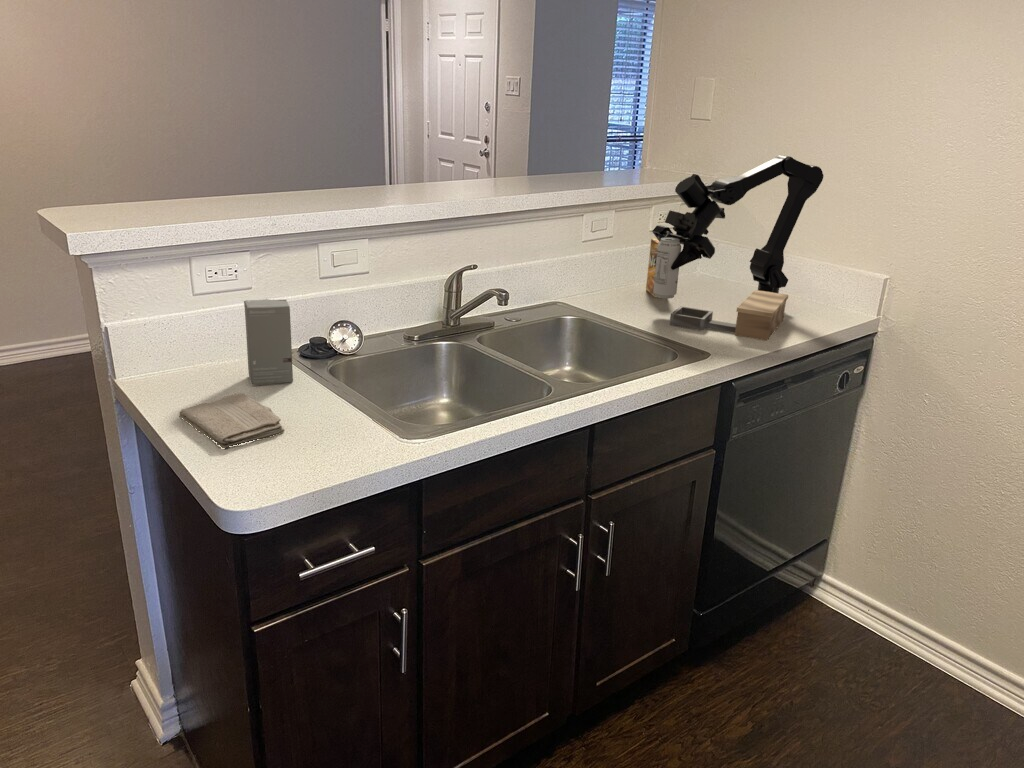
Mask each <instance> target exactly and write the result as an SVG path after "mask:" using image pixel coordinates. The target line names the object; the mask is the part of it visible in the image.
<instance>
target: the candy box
mask: <svg viewBox="0 0 1024 768" xmlns="http://www.w3.org/2000/svg"><path fill="white" fill-rule="evenodd" d="M658 244H659V240H658V239H657V238H651V239H650V247H649V255H648V256H649V258H648V266H647V272H646V274H647V275H646V283H645V290H646V291H647V292H648V293H649V294H651V296H653V297H654V298H655V299H657V298H658V297H656V296H655V293H654V292H653V289H654V278H655V268H656V264H655V263H654V262H655V259H656V256H657V247H658Z"/></svg>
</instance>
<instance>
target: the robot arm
mask: <svg viewBox="0 0 1024 768" xmlns="http://www.w3.org/2000/svg"><path fill="white" fill-rule="evenodd" d="M781 175H784V176H785V177H788V180H787V196H786V199H785V201H784V203H783V206H782V207H781V211H780V213H779V214H778V217H777V219H776V221H775V224H774V226H773V228H772V231H771V233H770V235H769V237H768V239H767V242H766V243H765V245H764V246H762V248H761V249H760V248H758V247H757V248H755V250H754V251H753V255H752V257H751V259H750V260H749V262H750V265H749V270H750V273H751V275H752V279H753V281H754V282H757V285H758V286H757V290H759V291H766V292H773V293H779V294H780V289H782V288H786V286H787V285H788V282H789V278H787V276H786V275H785V273H784V272H783V271H782V270H783V267H784V264H785V257H784V250H785V248H786V246H787V244H788V242H789V239H790V237H791V235H792V232H793V230H794V228H795V226H796V224H797V222H798V219H799V217H800V215H801V212H802V210H803V208H804V206H805V203H806V201H807V200H809V199H810V198H811V196H813V195H814V194H815V193H816V192H817V190H818V189H819V187H820V186H821V184H822V182H823V180H824V176H825V175H824V173H823V170H822V168H821V167H820V166H817V165H813V164H807V163H804V162H802V161H799V160H797V159H795V158H793V157H792V156H788V155H783V154H779V155H777V156H775V157H774V158H772V159H771V160H768V161H766V162H763V164H760V165H758V166H756V167H754V168H752V169H750V170H748V171H745V172H744V173H742V174H740V175H739V174H738V175H735V176H727V177H723V178H719V179H717V180H715V181H714V182H712V183H711V184H708V185H706V184H705V183H704V182H703V180H702V178H701V177H700V175H698V174H697V173H692V174H691V176H689V177H688V176H687V177H686V178H684V179H683V180H681V181H680V182H678V184H677V185H676V187H675V189H674V191H675V193H676V194H677V196H678V197H679V198H680V199H681V201H682V202H683V203H684V205H685V206H686V207H687V208H689V209H692V208H694V209H693V211H692V212H689V211H686V212H685V213H681V212H678V211H675V210H668V213H667V215H666V217H665V220H664V223H666V224H669V225H671V226H673V227H672V230H673V231H674V232H676V233H673V231H672V230H671V228H670V227H669V226H665V225H661V224H660V225H656V226H655V227H654V228H653V230H652V231H651V232H652V234H653V235H654V237H655V239H658V240H659V242H660V241H661V238H664V237H670V238H677V239H679V240H680V241H679V242H680V244H681V245H682V249H681V253H680V254H679V255H678V257H677V258H676V260H675V261H674V262H673V264H672V266H671V269H672V270H675V269H677V268H679V269H680V267H683V266H685V265H687V264H690V263H691V262H694V261H696V260H698V259H699V260H702V259H703V258H705V259H710V260H711V259H712V257H713V256H714V255H715V252H716V247H715V246H714V245H713V243H712V241H711V239H709V237H708V236H707V235H708V233H709V230H708V228H709V227H710V226H711V224H712V223H713V222H714V220H715V219H722V220H723V219H726V213H725V208H724V207H720V206H719V204H722V205H725V206H733V205H734V204H736V203H737V202H738V201H740V200H741V199H743V198H744V197H745V196H746V194H747V193H748V192H749V191H751V190H752V189H754V188H756V187H758V186H761V185H762V184H765V183H767V182H769V181H771V180H773V179H775V178H777V177H779V176H781ZM703 235H706V236H703ZM656 257H657V256H656ZM654 263H655V264H656V259H655V262H654Z"/></svg>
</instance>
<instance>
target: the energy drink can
mask: <svg viewBox="0 0 1024 768" xmlns="http://www.w3.org/2000/svg"><path fill="white" fill-rule="evenodd" d="M679 241H680V240H679V239H677V238H670V237H664V238H661V241H660V242H659V244H658V247H657V257H656V268H655V278H654V289H653V292H654V293H655V296H656V297H658V298H660V299H665V300H668V299H669V300H670V299H673V298H675V296H676V295H677V294H678V293H677V291H678V281H679V273H680V267H679V268H677V269H675V270H672V269H671V266H672V264H673V262H674V261H675V260H676V258H677V257H678V255H679V254H680V253H681V251H682V244H680V242H679Z"/></svg>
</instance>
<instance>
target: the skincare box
mask: <svg viewBox="0 0 1024 768" xmlns="http://www.w3.org/2000/svg"><path fill="white" fill-rule="evenodd" d="M243 306H244V317H245V336H246V352H247V355H246V356H247V366H248V367H247V368H248V369H247V370H248V371H247V372H248V377H249V380H250V384H251V386H252V387H257V386H266V385H276V384H282V383H283V384H284V383H293V382H294V375H293V373H294V372H293V370H294V369H293V352H292V351H293V348H292V347H293V346H292V328H291V327H292V326H291V307H290V304H289V303H288V301H287V299H267V298H266V299H250V300H243Z"/></svg>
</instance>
